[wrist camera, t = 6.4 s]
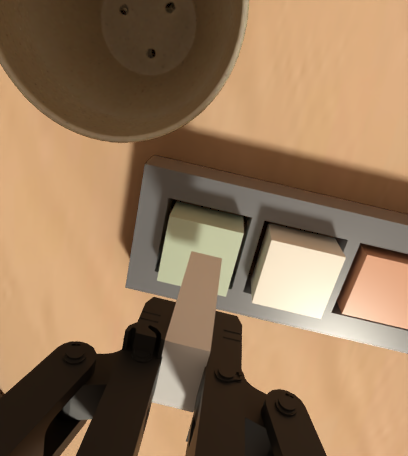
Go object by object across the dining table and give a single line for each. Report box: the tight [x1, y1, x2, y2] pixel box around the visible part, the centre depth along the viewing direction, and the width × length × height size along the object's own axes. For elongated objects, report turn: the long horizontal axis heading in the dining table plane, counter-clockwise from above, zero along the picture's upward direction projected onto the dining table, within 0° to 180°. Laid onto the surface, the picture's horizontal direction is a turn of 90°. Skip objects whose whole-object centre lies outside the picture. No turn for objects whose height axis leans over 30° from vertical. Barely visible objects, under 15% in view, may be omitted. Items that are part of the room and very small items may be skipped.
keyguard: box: [125, 155, 408, 354], centre depth 23 cm, size 19×8×2 cm, turn 78°
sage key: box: [157, 201, 244, 297], centre depth 22 cm, size 4×4×2 cm
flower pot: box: [0, 0, 249, 143], centre depth 17 cm, size 10×10×7 cm
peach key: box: [336, 243, 408, 329], centre depth 23 cm, size 4×4×2 cm
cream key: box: [251, 223, 346, 319], centre depth 22 cm, size 4×4×2 cm
